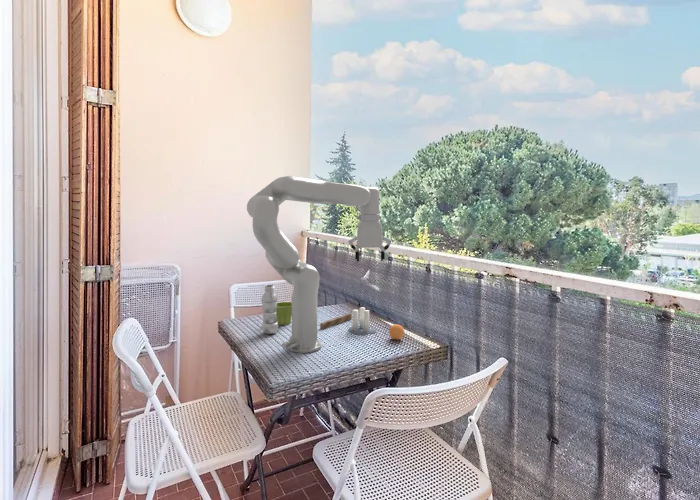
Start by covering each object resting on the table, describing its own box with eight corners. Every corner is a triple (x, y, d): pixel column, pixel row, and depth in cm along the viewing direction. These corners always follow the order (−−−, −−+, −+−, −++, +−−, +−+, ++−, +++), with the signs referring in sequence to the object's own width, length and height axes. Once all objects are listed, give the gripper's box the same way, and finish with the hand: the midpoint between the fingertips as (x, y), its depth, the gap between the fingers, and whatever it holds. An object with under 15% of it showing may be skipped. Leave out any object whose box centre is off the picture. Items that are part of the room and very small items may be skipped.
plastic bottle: (274, 336, 157) (274, 288, 154) (259, 335, 158) (258, 287, 156) (280, 331, 163) (280, 284, 161) (265, 330, 164) (265, 284, 162)
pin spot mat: (365, 337, 157) (365, 336, 157) (342, 330, 165) (342, 330, 165) (381, 329, 167) (381, 329, 167) (359, 324, 174) (359, 323, 174)
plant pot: (283, 327, 168) (283, 308, 167) (268, 323, 173) (268, 304, 172) (298, 322, 175) (298, 304, 174) (284, 319, 181) (284, 300, 180)
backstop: (322, 329, 166) (323, 323, 166) (320, 328, 167) (320, 323, 167) (351, 319, 182) (351, 313, 182) (348, 318, 183) (348, 313, 183)
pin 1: (355, 332, 163) (355, 311, 162) (351, 330, 165) (351, 310, 164) (359, 330, 165) (359, 310, 164) (354, 329, 167) (354, 309, 166)
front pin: (366, 332, 163) (367, 311, 162) (362, 331, 164) (362, 310, 163) (370, 331, 165) (370, 310, 164) (365, 330, 166) (365, 309, 165)
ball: (399, 342, 151) (399, 328, 151) (386, 339, 155) (386, 324, 154) (406, 338, 156) (407, 324, 155) (393, 335, 160) (394, 321, 159)
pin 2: (362, 329, 167) (363, 309, 166) (358, 328, 169) (358, 308, 168) (365, 327, 169) (366, 307, 168) (361, 326, 171) (361, 306, 170)
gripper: (347, 219, 151) (347, 262, 153) (391, 219, 150) (391, 262, 152) (348, 218, 158) (349, 259, 161) (391, 218, 157) (391, 259, 159)
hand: (370, 261), depth 156 cm, fingers open, 9 cm apart
